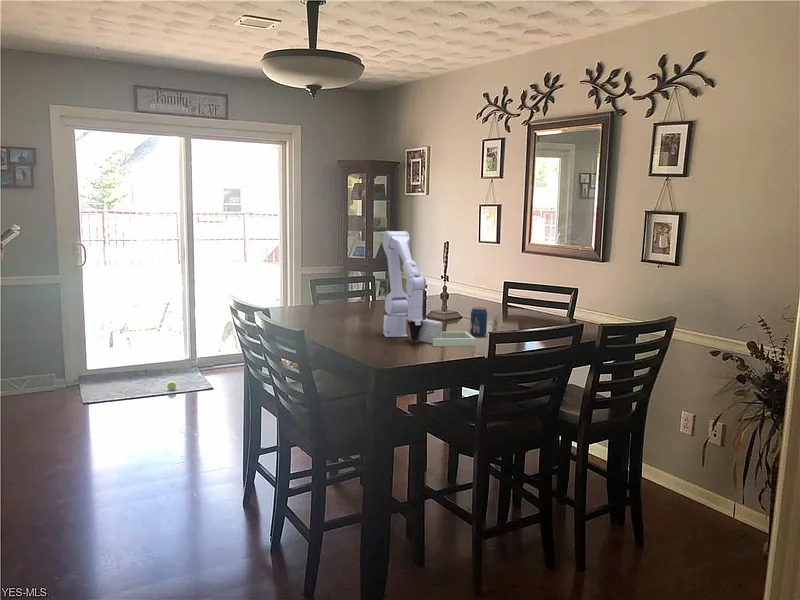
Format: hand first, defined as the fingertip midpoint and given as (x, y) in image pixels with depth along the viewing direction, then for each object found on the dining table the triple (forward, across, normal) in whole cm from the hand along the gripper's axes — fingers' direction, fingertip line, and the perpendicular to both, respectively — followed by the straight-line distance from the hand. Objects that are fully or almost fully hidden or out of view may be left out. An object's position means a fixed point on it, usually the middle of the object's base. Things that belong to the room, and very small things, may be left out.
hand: (414, 339), depth 256 cm
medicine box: (+1, 0, +7) cm, 7 cm away
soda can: (+1, -13, +30) cm, 33 cm away
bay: (+1, 0, +14) cm, 14 cm away
